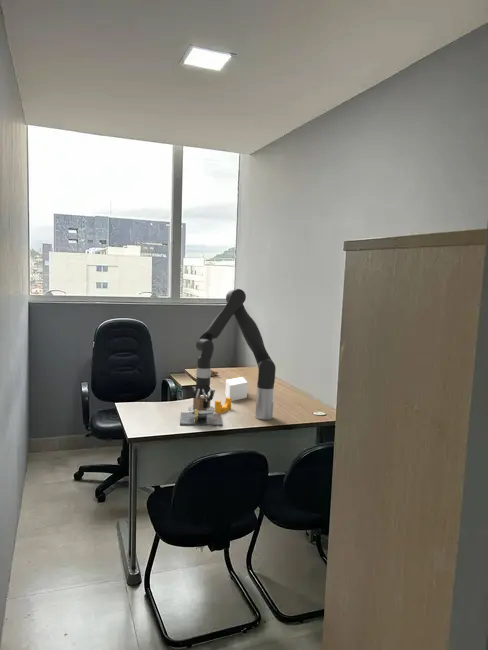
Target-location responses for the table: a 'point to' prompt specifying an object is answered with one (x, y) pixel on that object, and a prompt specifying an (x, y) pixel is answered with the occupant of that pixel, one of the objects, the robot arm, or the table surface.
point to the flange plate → (203, 412)
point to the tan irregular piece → (213, 372)
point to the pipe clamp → (225, 407)
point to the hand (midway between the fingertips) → (201, 407)
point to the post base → (201, 419)
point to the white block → (236, 388)
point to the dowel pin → (196, 415)
